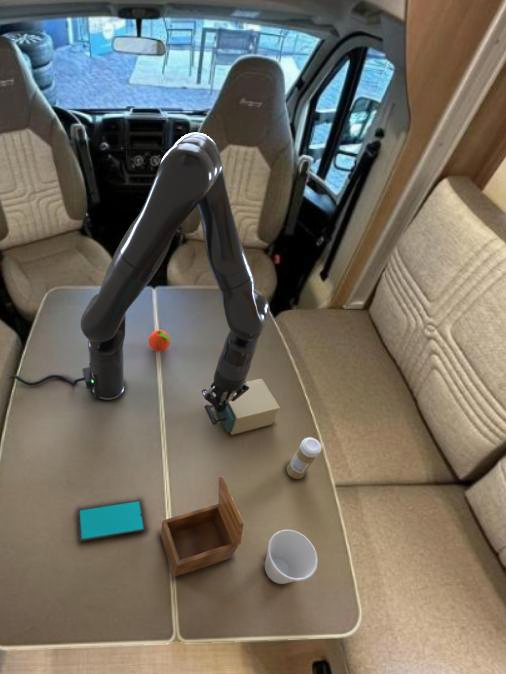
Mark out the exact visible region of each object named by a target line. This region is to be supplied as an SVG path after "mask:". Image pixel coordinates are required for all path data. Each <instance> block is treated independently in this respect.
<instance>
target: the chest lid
mask: <svg viewBox="0 0 506 674" xmlns="http://www.w3.org/2000/svg"><path fill="white" fill-rule="evenodd" d="M227 485H228V484H227V483H226V480H225V479H224V476H223V475H221V476H218V504H219V505H220V507H221V510H222V512H223V514H224V517H225V519H226V521H227V523H228V526H229V528H230V530H231V533H232V535H233V537H234V540H235V542H236V544H237V545H238V546H240V545H241V542H242V539H243V538H242V536H243V530H244V524H245V522H244V520H243V518H242V516H241V513H240V512H239V510H238V507H237V505H236V503H235V500H234V498H233V495H232V494H231V492H230V489H229V488H228V486H227Z"/></svg>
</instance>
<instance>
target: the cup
mask: <svg viewBox="0 0 506 674" xmlns="http://www.w3.org/2000/svg"><path fill="white" fill-rule="evenodd" d="M318 563H319V560H318V554H317V550H316V549H315V546H314V545H313V544H312V542H311V540H309V538H307V537H306V536H305V535H304V534H302V533H301V532H299V531H297V530H294V529H282V530H279V531H277V532H275V533H274V534H273V535H272V536H271V537H270V538H269V541H268V545H267V554H266V558H265V561H264V570H265V573H266V575H267V577H268V578H269V579H270V580H271V581H272V582H274V583H276V584H278V585H285V584H289V583H293V582H303V581H306V580H308V579H310V578H311V577H313V575H314V574H315V573H316V571H317V569H318Z"/></svg>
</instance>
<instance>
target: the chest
mask: <svg viewBox="0 0 506 674" xmlns="http://www.w3.org/2000/svg"><path fill="white" fill-rule="evenodd" d="M159 534H160V539H161V540H162V544H163V548H164V550H165V554H166V557H167V561H168V563H169V567H170V569H171V573H172V575H173V578H176V577H178V576H182V575H184V574H185V575H186V574H189V573H191V572H194V571H196V570H199V569H203V568H205V567H208V566H211V565H214V564H215V565H216V564H218V563H221V562H225V561H227V560H229V559H231V558H232V557H233V555H234V553H235V552H236V550H237V548H239V545H237V544H236V542H235V540H234V537H233V535H232V533H231V530H230V528H229V526H228V523H227V521H226V519H225V517H224V514H223V512H222V510H221V507H220V505H219V503H216V504H213V505H209V506H207V507H203V508H199V509H196V510H193V511H189V512H186V513H182V514H180V515H176V516H173V517H169V518H166V519H164V520H162V521H161V528H160V533H159Z"/></svg>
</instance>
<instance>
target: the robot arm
mask: <svg viewBox="0 0 506 674" xmlns="http://www.w3.org/2000/svg"><path fill="white" fill-rule="evenodd" d="M228 193H229V192H228V189H227V184H226V177H225V173H224V166H223V162H222V157H221V153H220V150H219V147H218V146H217V144H216V143H215V141H214V140H213V139H212V138H210V136H209V135H208V136H207V134H204V133H201V132H190V133H188V134H185V135H184V136H181V138H180V139H178V140H177V141H176V142H175V144H174V145H173V146H172V147H170V149H169V150H168V151H167V152H166V153H165V154H164V156H163V158H162V159H161V161H160V164H159V166H158V168H157V171H156V174H155V176H154V179H153V181H152V184H151V187H150V190H149V191H148V195H147V197H146V200H145V202H144V204H143V206H142V208H141V210H140V212H139V213H138V215H137V217H136V218H135V219H134V220H133V222H132V223H131V224H130V226H129V228H128V229H127V231H125V234H124V236H123V237H122V239H121V241H120V243H119V245H118V246H117V247H116V250H115V252H114V254H113V256H112V258H111V261H110V263H109V265H108V268H107V270H106V273H105V275H104V278H103V280H102V284H101V285H100V288H99V291H98V293H97V294H95V295H94V296H93V297H92V298H91V299H90V301H89V303H88V305H87V306H86V308H85V310H84V311H83V313H82V315H81V318H80V329H81V332H82V333H83V335H84V337H85V338H86V339H87V351H88V357H89V363H88V367H83V368H81V369H82V376H83V377H79V378H75V379H74V380H71V379H70V378H67V377H65V376H63V375H60V374H50V375H48V376H45V377H43V378H41V379H39V380H37V381H32V382H31V381H30V382H29V381H27V380H25V379H23V378H21V377H20V376H19V375H16V374H12V375H10V376H9V379H11V380H12V379H16V380H18V382H21V383H22V384H24V385H26V386H36V385H37V386H38V385H39V384H42V383H44V382H46V381H47V380H50V379H55V378H56V379H60V380H63V381H65V382H67V383H68V384H71V385H74V386H75V385H78V383H80V382H84V383H85V387H86V389H87V390H89V389H92V392H93V394H94V395H93V396H94V399H95V400H99V399H100V400H103V401H113V400H117V399H118V398H119V397H121V396H122V395H123V393H124V391H125V378H124V377H125V376H124V375H125V374H124V342H125V337H126V321H127V320H126V314H127V311H128V310H129V308H130V307H131V306H132V305H133V303H135V301H136V300H137V299H138V298H139V296H140V295H141V294H142V292H143V291H144V290H145V288H146V287H147V286H148V284H149V283H150V282H151V280H152V279H153V277H154V276H155V274H156V273H157V272H158V270H159V268H160V267H161V265H162V264H163V262H164V260H165V258H166V256H167V254H168V252H169V249H170V247H171V244H172V241H173V238H174V236H175V234H176V233H177V231H178V230H179V229H180V227H181V226H182V225H183V224H184V222H185V221H186V219H187V218H188V217H189V216H190V215H191V213H193V211H194V210H195V209H196V211H197V214H198V217H199V220H200V224H201V229H202V233H203V234H202V235H203V239H204V244H205V252H206V257H207V262H208V265H209V268H210V270H211V274H212V275H213V278H214V280H215V283H216V285H217V288H218V289H219V291H220V293H221V298H222V306H223V310H224V316H225V319H226V323H227V326H228V328H229V332H228V334H227V336H226V338H225V340H224V343H223V347H222V351H221V353H220V354H219V358H218V360H217V364H216V368H215V371H214V374H213V382H212V383H211V384H210V388H208V389H206V388H202V390H201V393H202V395H203V397H204V399H205V401H207V402H208V403H209V404H210V405H213V406H214V407H213V408H214V409H215V412H218V413H219V412H223V411H224V409H225V408H226V406H227V404H228V403H229V401H235V400H236V399H237V398H239V397H240V396H241V395H242V394H244V393H245V392H246V391H247V390H249V386H248V385H247V383H246V382H247V381H246V380H247V377H248V375H249V373H250V370H251V366H252V361H253V358H254V356H255V352H256V350H257V345H258V341H259V338H260V336H261V334H262V333H263V331H264V329H265V326H266V324H267V321H268V318H269V315H270V311H271V309H270V302H269V301H268V299H267V298H266V297H265V296H264V295H263V294H261V293H258V292H255V286H256V281H255V275H254V273H253V270H252V268H251V264H250V262H249V259H248V256H247V254H246V252H245V248H244V247H243V243H242V240H241V238H240V235H239V231H238V228H237V224H236V221H235V218H234V214H233V210H232V207H231V202H230V198H229V194H228ZM235 393H237V394H236V395H235V396H234V394H235ZM214 394H215V396H214ZM218 413H217V414H218Z"/></svg>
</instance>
